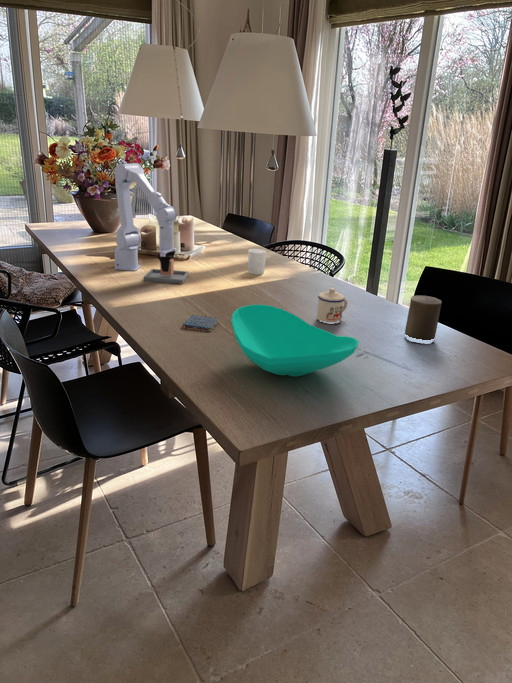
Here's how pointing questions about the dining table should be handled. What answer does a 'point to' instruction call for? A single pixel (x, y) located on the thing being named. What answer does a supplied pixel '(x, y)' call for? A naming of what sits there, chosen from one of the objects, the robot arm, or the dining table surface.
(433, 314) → the pillar candle
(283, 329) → the table top decor
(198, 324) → the woven mat
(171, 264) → the tan block
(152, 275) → the grey tray
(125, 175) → the robot arm
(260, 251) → the white cup
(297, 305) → the dining table surface
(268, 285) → the dining table surface
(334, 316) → the teacup with lid
